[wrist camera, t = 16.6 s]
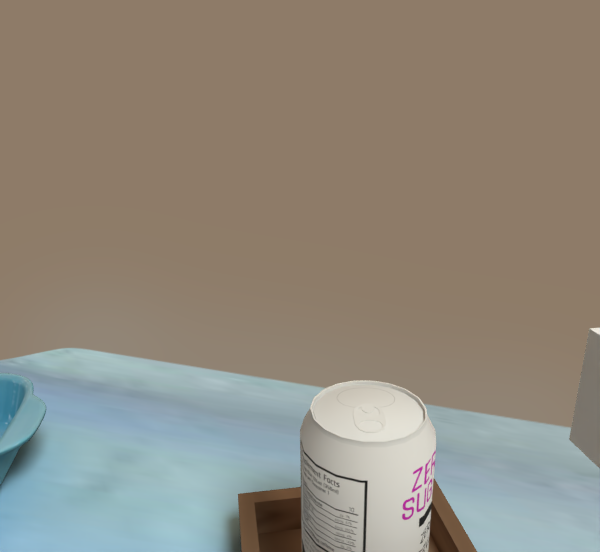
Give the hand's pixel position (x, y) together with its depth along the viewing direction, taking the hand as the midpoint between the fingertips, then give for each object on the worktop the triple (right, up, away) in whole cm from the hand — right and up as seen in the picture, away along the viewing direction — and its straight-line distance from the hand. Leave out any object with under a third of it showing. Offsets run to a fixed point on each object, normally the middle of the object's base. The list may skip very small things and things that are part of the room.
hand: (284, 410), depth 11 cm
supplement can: (+5, -20, +28) cm, 34 cm away
